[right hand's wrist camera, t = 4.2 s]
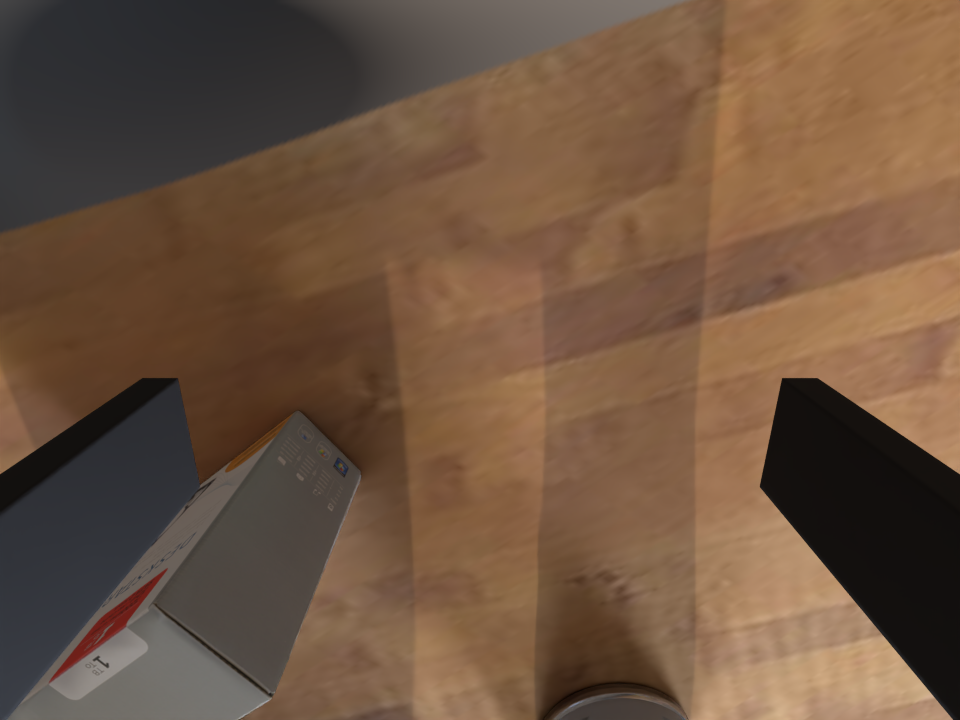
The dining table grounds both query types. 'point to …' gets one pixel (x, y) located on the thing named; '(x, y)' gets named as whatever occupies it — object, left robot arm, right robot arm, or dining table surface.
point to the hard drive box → (211, 593)
